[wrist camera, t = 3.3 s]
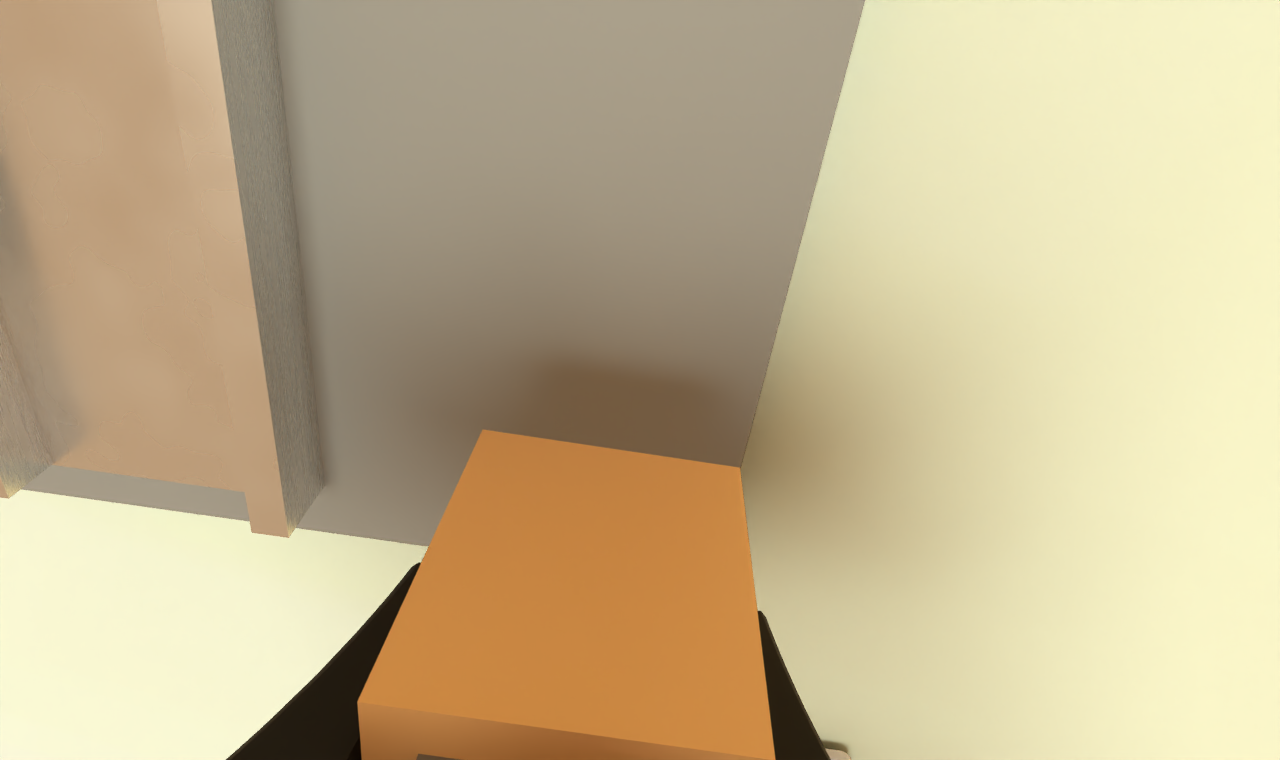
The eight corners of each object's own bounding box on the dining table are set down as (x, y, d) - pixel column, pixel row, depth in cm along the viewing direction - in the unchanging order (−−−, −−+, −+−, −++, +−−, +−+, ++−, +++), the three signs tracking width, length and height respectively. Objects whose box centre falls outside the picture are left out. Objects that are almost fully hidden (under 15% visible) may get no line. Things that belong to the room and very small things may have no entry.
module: (686, 673, 14) (688, 1024, 9) (473, 643, 14) (364, 982, 9) (739, 467, 11) (780, 800, 7) (482, 429, 11) (341, 738, 7)
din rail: (324, 485, 17) (288, 538, 15) (36, 444, 17) (-29, 493, 15) (268, -47, 11) (204, -49, 10) (-161, -116, 11) (-296, -130, 10)
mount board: (707, 557, 19) (709, 585, 18) (21, 460, 18) (-11, 484, 17) (865, -56, 12) (880, -58, 11) (-238, -238, 11) (-314, -257, 10)
